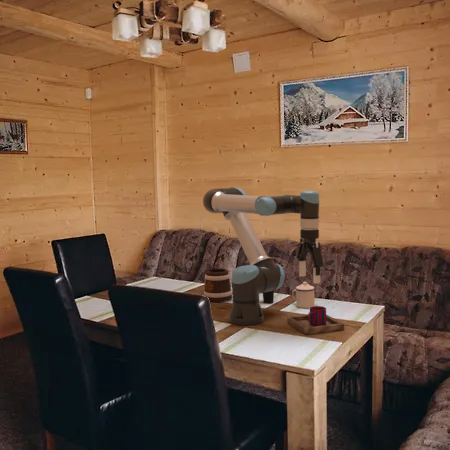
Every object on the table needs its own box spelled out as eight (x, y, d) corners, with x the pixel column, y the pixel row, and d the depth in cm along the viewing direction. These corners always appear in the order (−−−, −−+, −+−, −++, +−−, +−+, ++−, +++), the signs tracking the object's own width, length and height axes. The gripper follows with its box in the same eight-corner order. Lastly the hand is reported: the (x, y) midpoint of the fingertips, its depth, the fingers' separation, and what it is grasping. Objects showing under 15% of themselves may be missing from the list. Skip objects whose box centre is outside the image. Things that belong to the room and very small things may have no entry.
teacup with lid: (318, 305, 239) (318, 281, 238) (307, 309, 232) (307, 285, 231) (297, 301, 247) (297, 278, 246) (287, 305, 241) (286, 281, 240)
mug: (238, 299, 256) (237, 270, 254) (213, 304, 247) (212, 274, 246) (217, 292, 272) (216, 265, 271) (193, 296, 264) (192, 269, 263)
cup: (329, 324, 206) (329, 308, 206) (313, 329, 200) (313, 312, 199) (317, 320, 211) (316, 305, 211) (301, 325, 205) (300, 309, 205)
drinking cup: (278, 301, 249) (278, 261, 247) (271, 305, 242) (270, 264, 241) (265, 299, 253) (264, 260, 251) (258, 303, 247) (257, 263, 245)
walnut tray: (305, 335, 196) (305, 329, 195) (287, 322, 213) (287, 316, 213) (344, 330, 200) (344, 324, 200) (323, 318, 218) (323, 312, 217)
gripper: (332, 231, 194) (332, 285, 196) (304, 225, 217) (304, 272, 220) (314, 232, 191) (314, 287, 194) (289, 225, 215) (289, 274, 218)
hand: (309, 279), depth 207 cm, fingers open, 13 cm apart
